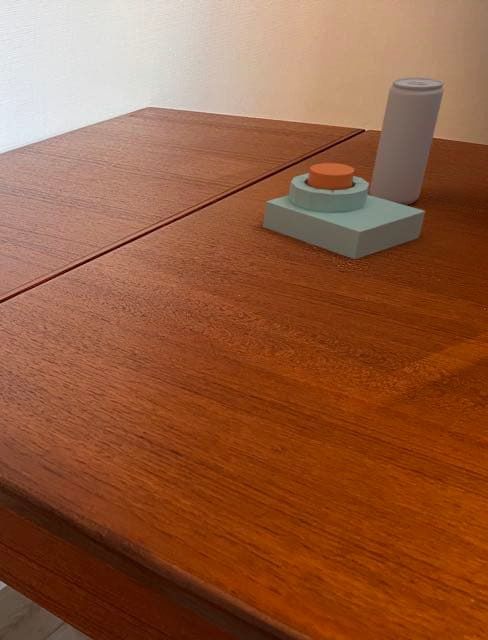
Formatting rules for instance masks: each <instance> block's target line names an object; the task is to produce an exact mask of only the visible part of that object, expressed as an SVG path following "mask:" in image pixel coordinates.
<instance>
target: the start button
mask: <svg viewBox="0 0 488 640" xmlns="http://www.w3.org/2000/svg"><path fill="white" fill-rule="evenodd" d="M308 173H309V176H308V183H307V186H310V187H313V188H316V189H324V190H346V189H349V188H351V187H352V182H353V176H355V167H352V166H350V165H348V164H343V163H334V162H323V163H316V164H313V165H311V166H310V167H309V171H308Z"/></svg>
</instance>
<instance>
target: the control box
mask: <svg viewBox="0 0 488 640" xmlns="http://www.w3.org/2000/svg"><path fill="white" fill-rule="evenodd" d="M308 176H309V172H307V173H304V174H300V175H297V176H294V177H293V178H292V179H291V181H290V184H289V189H288V190H289V192H288V194H287V195H284V196H281V197H277V198H274V199H270V200H267V201H265V208H264V215H263V224H262V227H263V228H265V229H268V230H270V231H274V232H276V233H279V234H282V235H285V236H288V237H291V238H293V239H296V240H298V241H301V242H304V243H307V244H311V245H313V246H316V247H319V248H321V249H324V250H327V251H330V252H332V253H335V254H339V255H342V256H344V257H347V258H350V259H353V260H357V259H360V258H363V257H366V256H369V255H372V254H375V253H378V252H382V251H384V250H386V249H390V248H393V247H396V246H399V245H402V244H405V243H408V242H410V241H414V240H417V239H419V238H420V235H421V231H422V227H423V224H424V223H423V222H424V218H425V214H426V211H425V210H423V209H420V208H416V207H413V206H408V205H402V204H399V203H395V202H392V201H388V200H384V199H381V198H377V197H374V196H370V194H369V190H370V183H369V182H368V181H366V180H365V179H364V178H363V177H359V176H355V175H354V176H353V182H352V187H351V188H349V189H346V190H324V189H316V188H313V187H310V186H307V183H308Z"/></svg>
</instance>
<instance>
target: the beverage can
mask: <svg viewBox="0 0 488 640" xmlns="http://www.w3.org/2000/svg"><path fill="white" fill-rule="evenodd" d="M444 84H445V82H444V81H443V80H441V79H437V78H432V77H419V76H417V77H414V76H412V77H411V76H410V77H401V78H400V77H399V78H396V79H393V80H392V85H391V86H390V88H389V91H388V96H387V100H386V106H385V109H384V116H383V121H382V125H381V130H380V135H379V141H378V146H377V151H376V155H375V156H376V157H375V161H374V165H373V170H372V171H373V172H372V177H371V182H370V185H369V191H368V194H369V195H370V196H374V197H377V198H381V199H384V200H388V201H392V202H395V203H399V204H402V205H406V206H408V205H411V204H413V203H415V202H417V201H418V199H419V197H420V194H421V191H422V190H421V189H422V185H423V181H424V178H425V173H426V169H427V164H428V160H429V156H430V151H431V147H432V143H433V140H434V139H433V138H434V134H435V128H436V125H437V121H438V118H439V113H440V108H441V105H442V104H441V103H442V99H443V96H444V91H445V90H444V88H443V87H444Z"/></svg>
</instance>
